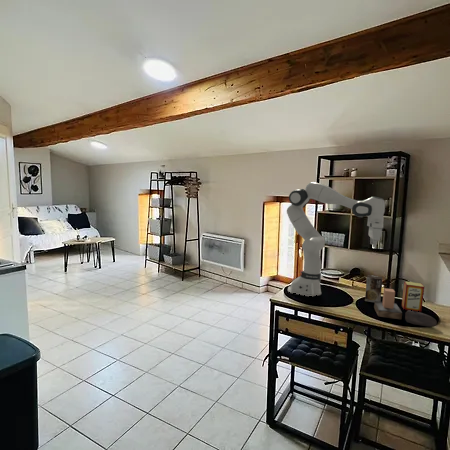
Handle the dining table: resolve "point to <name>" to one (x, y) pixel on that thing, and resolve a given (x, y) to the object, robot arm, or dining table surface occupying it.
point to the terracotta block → (388, 298)
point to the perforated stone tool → (419, 319)
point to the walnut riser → (387, 311)
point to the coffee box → (373, 288)
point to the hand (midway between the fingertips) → (373, 245)
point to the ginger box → (413, 296)
